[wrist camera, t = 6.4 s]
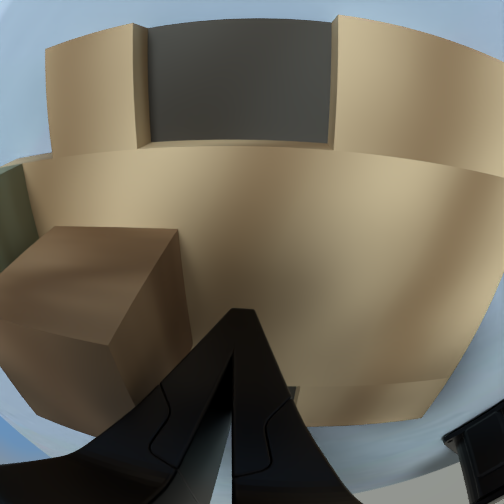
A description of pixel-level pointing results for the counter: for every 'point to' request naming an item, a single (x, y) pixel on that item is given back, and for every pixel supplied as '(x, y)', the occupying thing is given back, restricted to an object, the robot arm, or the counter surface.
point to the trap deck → (291, 189)
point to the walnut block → (93, 321)
